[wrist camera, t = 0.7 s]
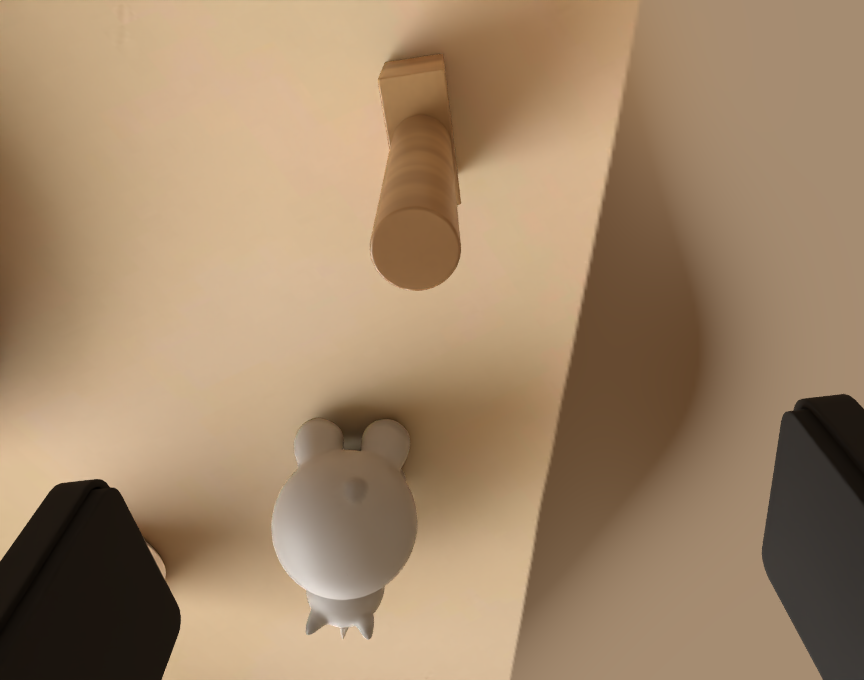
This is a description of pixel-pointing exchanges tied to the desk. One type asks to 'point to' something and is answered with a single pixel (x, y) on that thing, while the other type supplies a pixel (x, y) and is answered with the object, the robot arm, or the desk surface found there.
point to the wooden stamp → (417, 178)
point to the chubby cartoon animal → (345, 521)
